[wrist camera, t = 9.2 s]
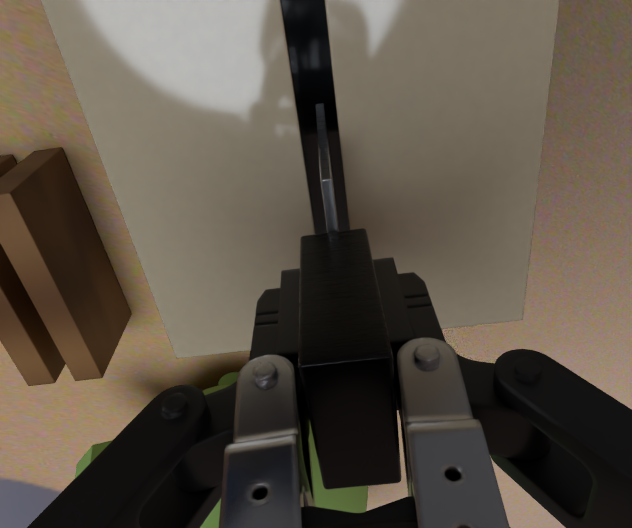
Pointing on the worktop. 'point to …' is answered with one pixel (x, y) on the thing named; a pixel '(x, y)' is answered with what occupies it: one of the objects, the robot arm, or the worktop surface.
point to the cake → (315, 143)
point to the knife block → (54, 274)
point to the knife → (345, 350)
